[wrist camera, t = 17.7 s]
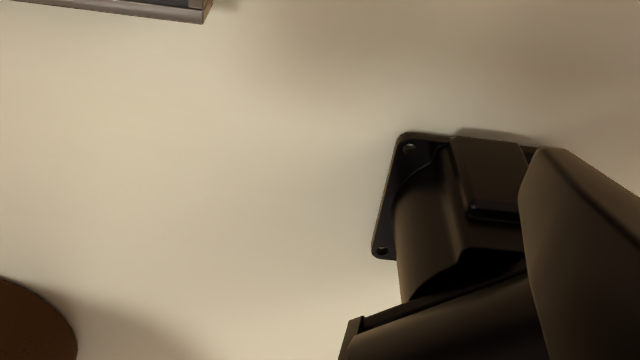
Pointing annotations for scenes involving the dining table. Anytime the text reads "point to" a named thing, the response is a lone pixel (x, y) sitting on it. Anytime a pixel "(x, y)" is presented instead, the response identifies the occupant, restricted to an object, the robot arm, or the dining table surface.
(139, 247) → the dining table surface
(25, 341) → the olive oil
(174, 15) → the drip tray
